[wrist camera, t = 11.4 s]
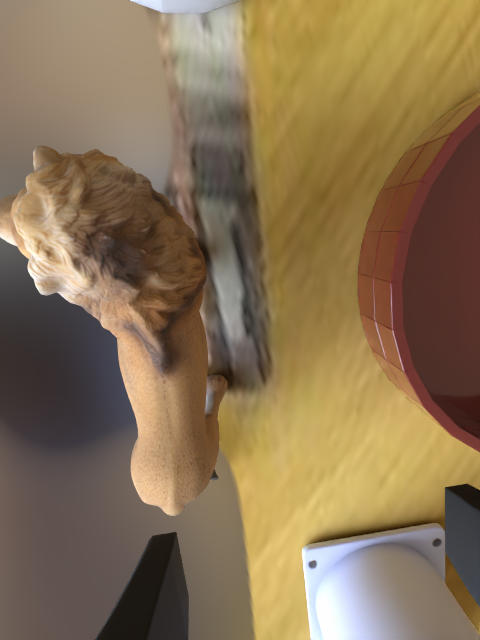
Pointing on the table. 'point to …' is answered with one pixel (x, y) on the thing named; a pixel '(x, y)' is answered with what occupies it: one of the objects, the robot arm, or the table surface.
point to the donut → (184, 5)
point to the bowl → (429, 274)
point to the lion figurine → (130, 304)
